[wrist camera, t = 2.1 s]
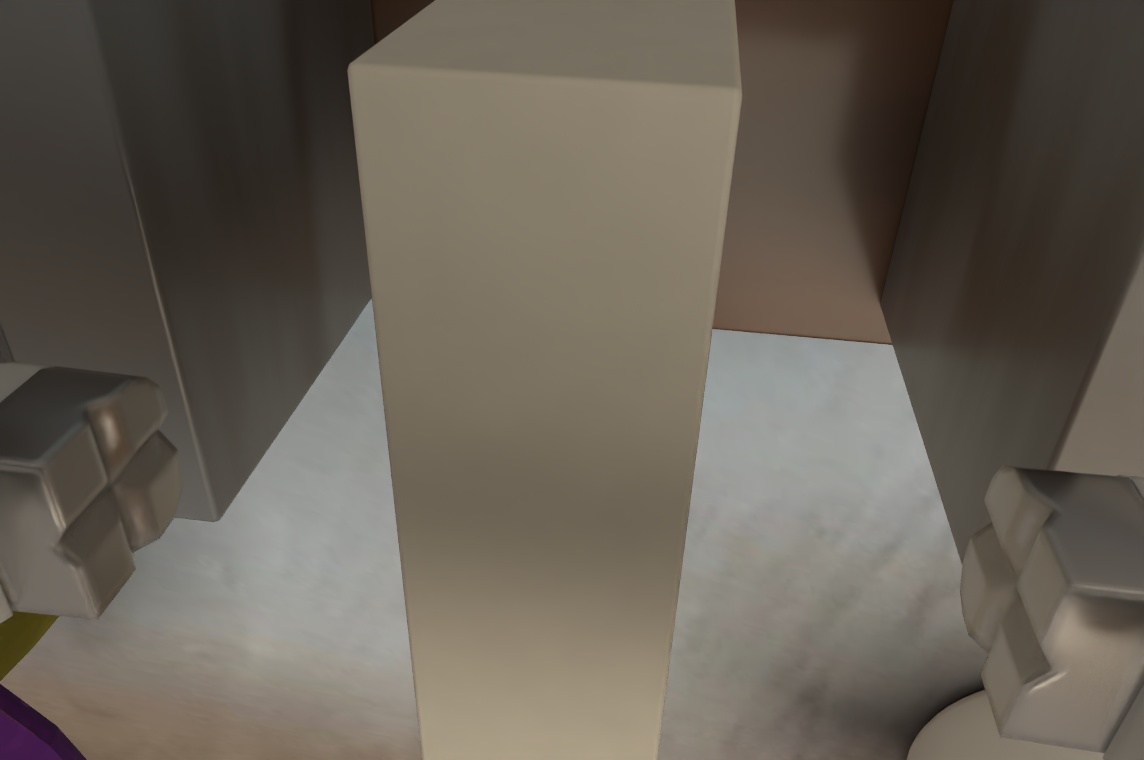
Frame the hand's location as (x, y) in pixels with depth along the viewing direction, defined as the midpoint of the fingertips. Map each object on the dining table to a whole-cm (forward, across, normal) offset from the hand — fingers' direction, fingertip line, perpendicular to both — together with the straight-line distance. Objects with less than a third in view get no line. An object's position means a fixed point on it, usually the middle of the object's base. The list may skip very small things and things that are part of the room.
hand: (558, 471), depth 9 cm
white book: (+12, 0, 0) cm, 12 cm away
